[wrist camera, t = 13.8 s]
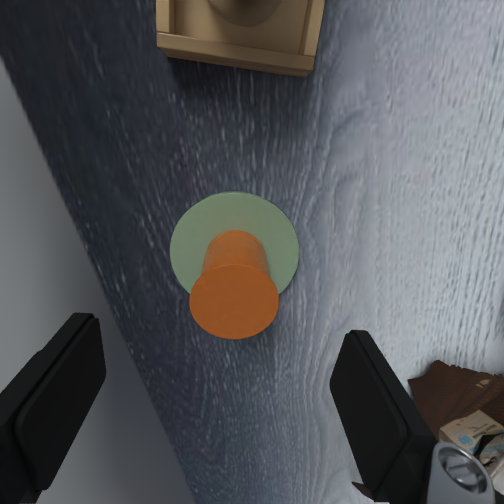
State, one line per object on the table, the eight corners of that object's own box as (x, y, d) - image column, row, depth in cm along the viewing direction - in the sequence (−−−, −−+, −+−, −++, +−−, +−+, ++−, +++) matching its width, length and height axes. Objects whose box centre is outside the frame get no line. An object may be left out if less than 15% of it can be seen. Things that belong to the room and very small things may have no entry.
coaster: (171, 301, 21) (169, 306, 20) (171, 183, 17) (169, 185, 17) (286, 310, 22) (287, 315, 21) (309, 199, 18) (311, 201, 18)
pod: (201, 284, 20) (188, 336, 15) (204, 223, 18) (190, 260, 13) (263, 289, 20) (271, 342, 15) (273, 230, 18) (286, 268, 13)
